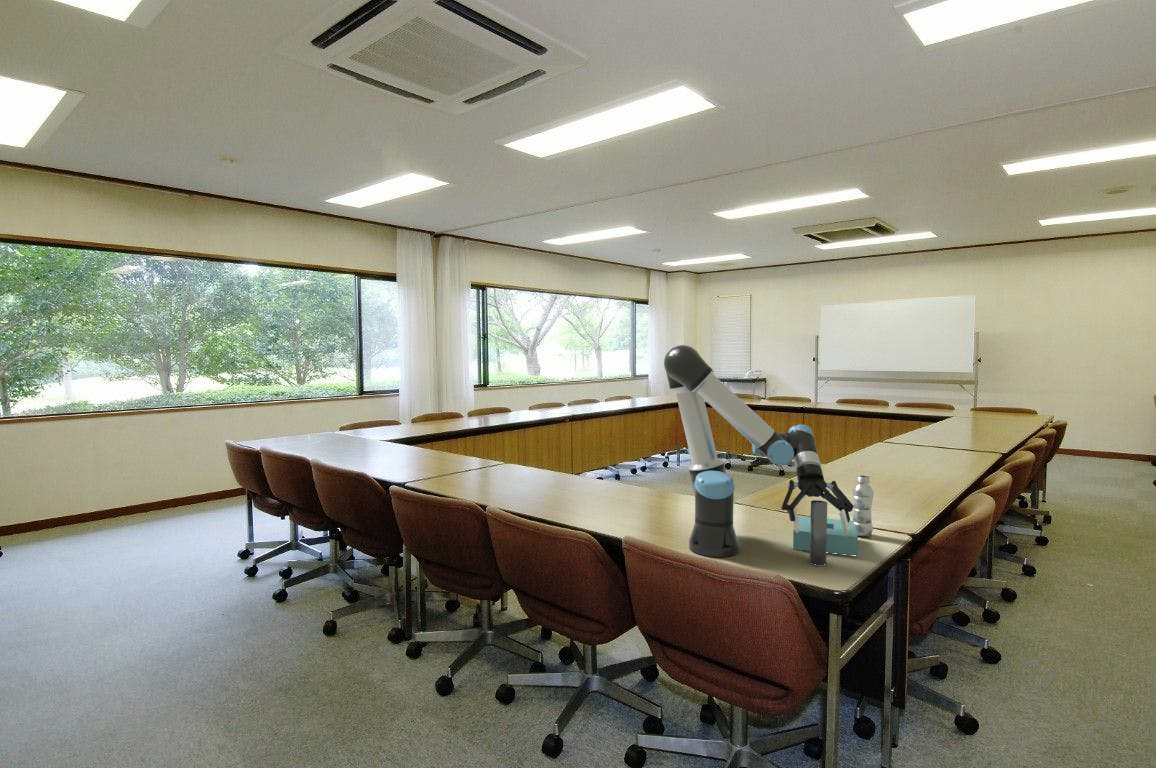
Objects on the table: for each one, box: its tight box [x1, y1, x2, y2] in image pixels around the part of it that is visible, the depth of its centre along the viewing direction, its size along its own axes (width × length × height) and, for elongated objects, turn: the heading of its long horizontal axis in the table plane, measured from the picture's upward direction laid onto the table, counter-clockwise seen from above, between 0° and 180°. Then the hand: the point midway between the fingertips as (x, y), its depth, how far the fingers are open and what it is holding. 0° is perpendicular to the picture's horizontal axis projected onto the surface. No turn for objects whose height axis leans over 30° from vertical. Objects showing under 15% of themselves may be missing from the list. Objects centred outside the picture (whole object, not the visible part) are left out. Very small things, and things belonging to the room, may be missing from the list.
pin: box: [809, 499, 828, 565], centre depth 166 cm, size 4×4×18 cm
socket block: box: [792, 515, 858, 557], centre depth 183 cm, size 18×18×6 cm
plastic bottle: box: [852, 474, 875, 537], centre depth 191 cm, size 6×7×20 cm
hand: (822, 531), depth 166 cm, fingers open, 13 cm apart
